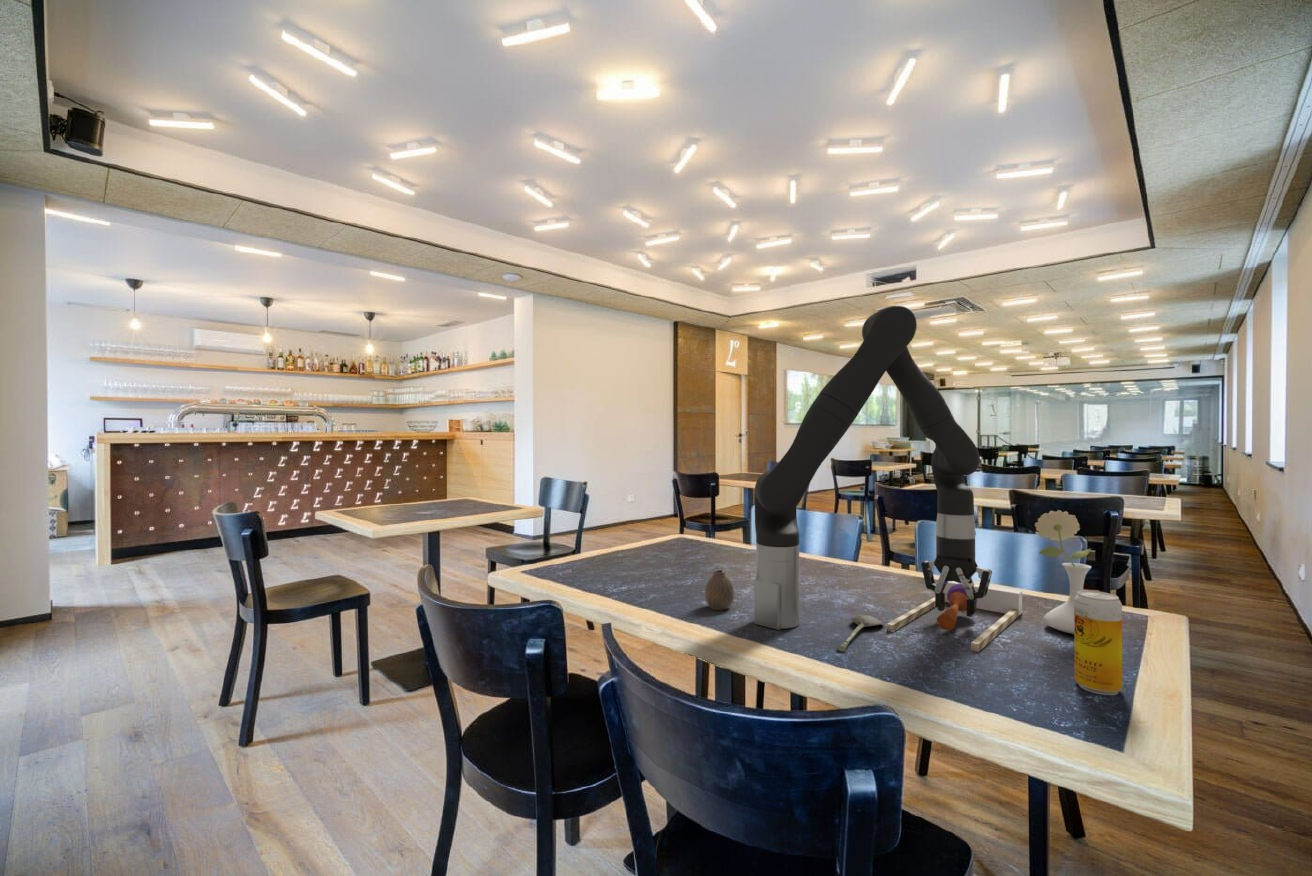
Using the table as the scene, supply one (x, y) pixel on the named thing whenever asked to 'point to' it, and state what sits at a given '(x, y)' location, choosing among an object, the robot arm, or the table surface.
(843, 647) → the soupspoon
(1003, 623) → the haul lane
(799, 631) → the table surface
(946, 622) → the kendama
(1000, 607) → the end stop
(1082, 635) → the beer can
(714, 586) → the vase
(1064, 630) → the flower in vase
